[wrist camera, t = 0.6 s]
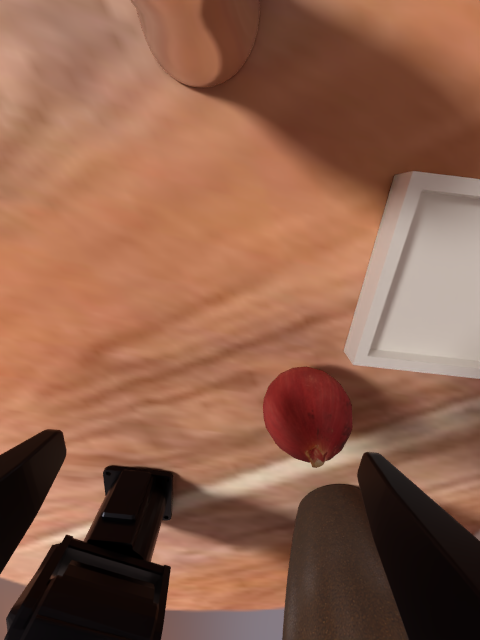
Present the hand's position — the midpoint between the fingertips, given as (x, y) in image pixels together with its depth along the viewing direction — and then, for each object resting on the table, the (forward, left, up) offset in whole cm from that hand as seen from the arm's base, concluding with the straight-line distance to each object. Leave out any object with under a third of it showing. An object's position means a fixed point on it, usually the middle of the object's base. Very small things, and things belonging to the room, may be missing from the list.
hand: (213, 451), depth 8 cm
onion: (-5, -6, -13) cm, 15 cm away
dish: (+4, -15, -13) cm, 20 cm away
